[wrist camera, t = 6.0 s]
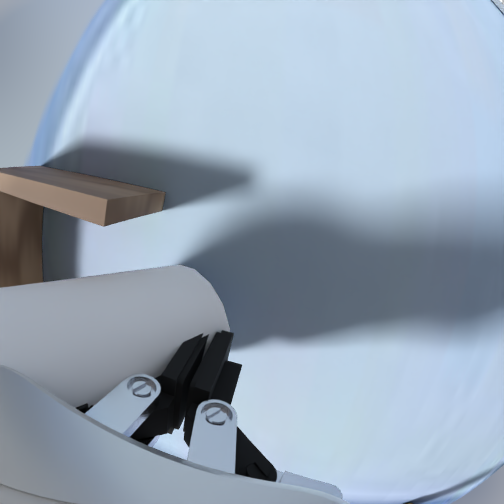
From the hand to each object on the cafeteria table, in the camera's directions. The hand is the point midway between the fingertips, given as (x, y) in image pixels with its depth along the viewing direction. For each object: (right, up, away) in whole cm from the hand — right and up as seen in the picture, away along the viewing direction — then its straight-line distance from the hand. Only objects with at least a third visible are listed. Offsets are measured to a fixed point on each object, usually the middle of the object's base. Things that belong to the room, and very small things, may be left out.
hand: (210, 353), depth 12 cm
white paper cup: (-1, +1, +2) cm, 3 cm away
